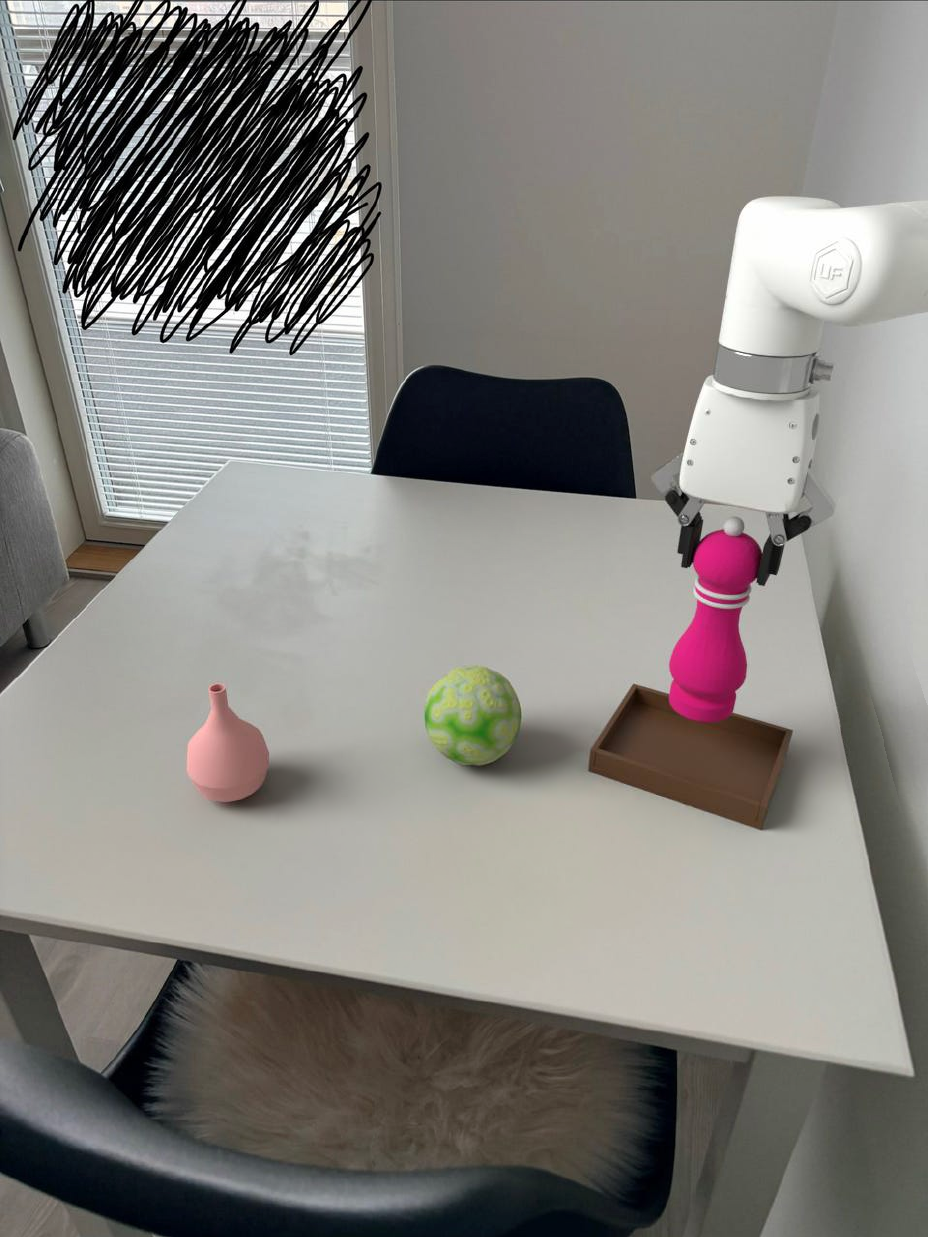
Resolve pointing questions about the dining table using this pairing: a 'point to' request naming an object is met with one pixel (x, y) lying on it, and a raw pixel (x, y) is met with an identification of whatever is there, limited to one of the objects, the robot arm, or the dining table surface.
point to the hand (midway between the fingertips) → (725, 568)
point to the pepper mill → (715, 626)
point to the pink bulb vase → (226, 753)
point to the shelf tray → (692, 756)
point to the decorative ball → (472, 715)
